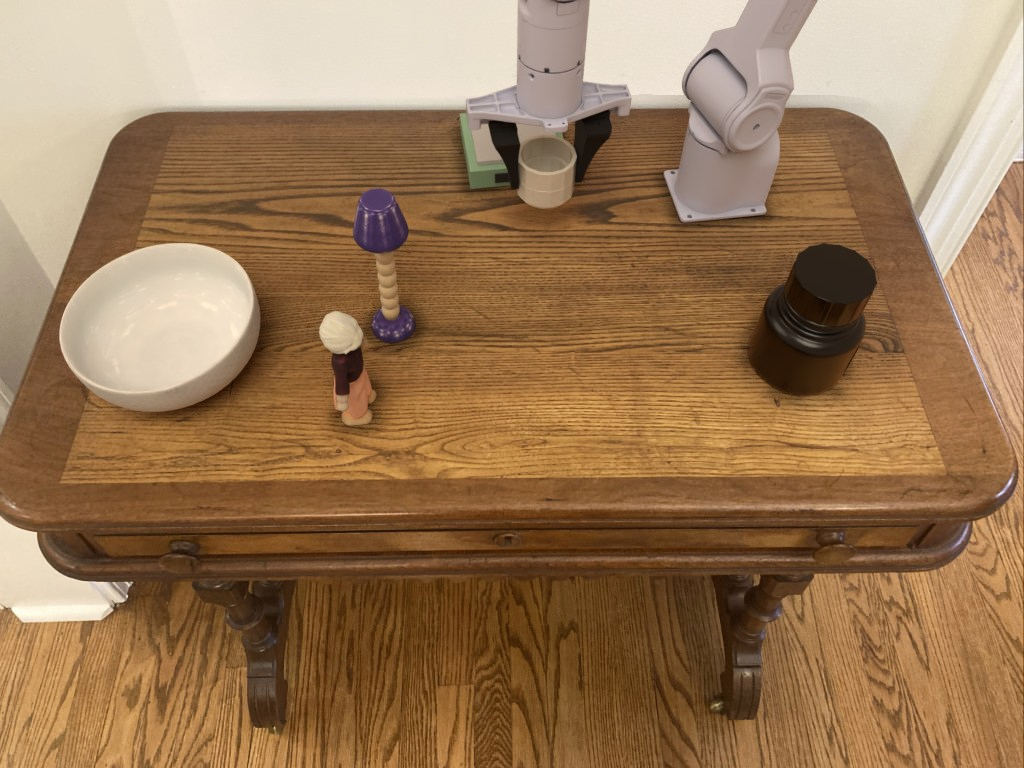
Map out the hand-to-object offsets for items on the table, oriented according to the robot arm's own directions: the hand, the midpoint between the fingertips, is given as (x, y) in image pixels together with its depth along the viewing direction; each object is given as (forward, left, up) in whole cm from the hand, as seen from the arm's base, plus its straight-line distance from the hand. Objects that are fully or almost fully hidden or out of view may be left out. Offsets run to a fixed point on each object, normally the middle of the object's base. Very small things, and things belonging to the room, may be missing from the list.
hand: (544, 179), depth 83 cm
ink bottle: (-21, +19, -9) cm, 29 cm away
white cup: (0, 0, -2) cm, 2 cm away
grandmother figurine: (+20, +19, -9) cm, 29 cm away
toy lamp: (+16, +10, -9) cm, 20 cm away
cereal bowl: (+36, +11, -9) cm, 38 cm away
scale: (+1, -14, -8) cm, 16 cm away
